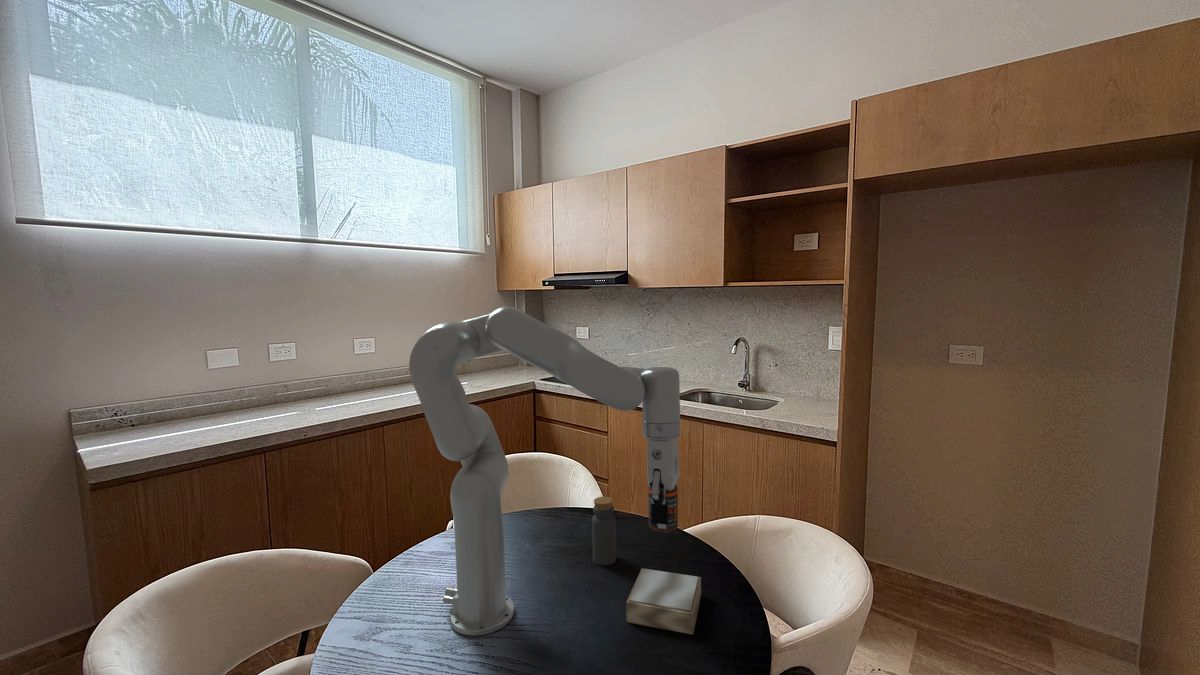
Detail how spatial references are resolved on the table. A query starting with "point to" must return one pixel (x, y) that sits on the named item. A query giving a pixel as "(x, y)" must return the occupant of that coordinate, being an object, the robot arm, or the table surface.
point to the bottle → (604, 531)
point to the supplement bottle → (672, 511)
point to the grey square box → (664, 601)
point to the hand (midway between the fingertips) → (663, 515)
